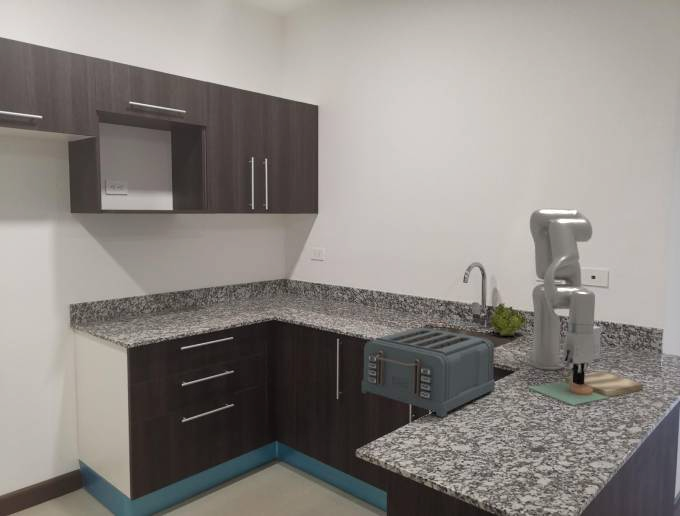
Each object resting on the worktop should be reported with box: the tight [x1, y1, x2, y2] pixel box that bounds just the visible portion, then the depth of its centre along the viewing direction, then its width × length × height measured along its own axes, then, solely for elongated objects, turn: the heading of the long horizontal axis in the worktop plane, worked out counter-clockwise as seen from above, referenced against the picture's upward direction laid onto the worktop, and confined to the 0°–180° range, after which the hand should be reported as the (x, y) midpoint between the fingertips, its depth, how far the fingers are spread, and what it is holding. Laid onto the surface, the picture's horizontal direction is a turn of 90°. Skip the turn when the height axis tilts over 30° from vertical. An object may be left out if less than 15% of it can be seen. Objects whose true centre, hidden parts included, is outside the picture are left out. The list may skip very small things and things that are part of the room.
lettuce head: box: [490, 302, 527, 337], centre depth 258 cm, size 18×16×16 cm
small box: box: [593, 325, 602, 360], centre depth 221 cm, size 8×6×13 cm
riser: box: [564, 370, 644, 398], centre depth 184 cm, size 16×18×2 cm
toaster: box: [361, 327, 496, 418], centre depth 175 cm, size 31×36×18 cm
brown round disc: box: [569, 383, 593, 395], centre depth 177 cm, size 7×7×2 cm
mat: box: [528, 381, 610, 407], centre depth 176 cm, size 18×16×1 cm
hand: (578, 383), depth 178 cm, fingers closed
